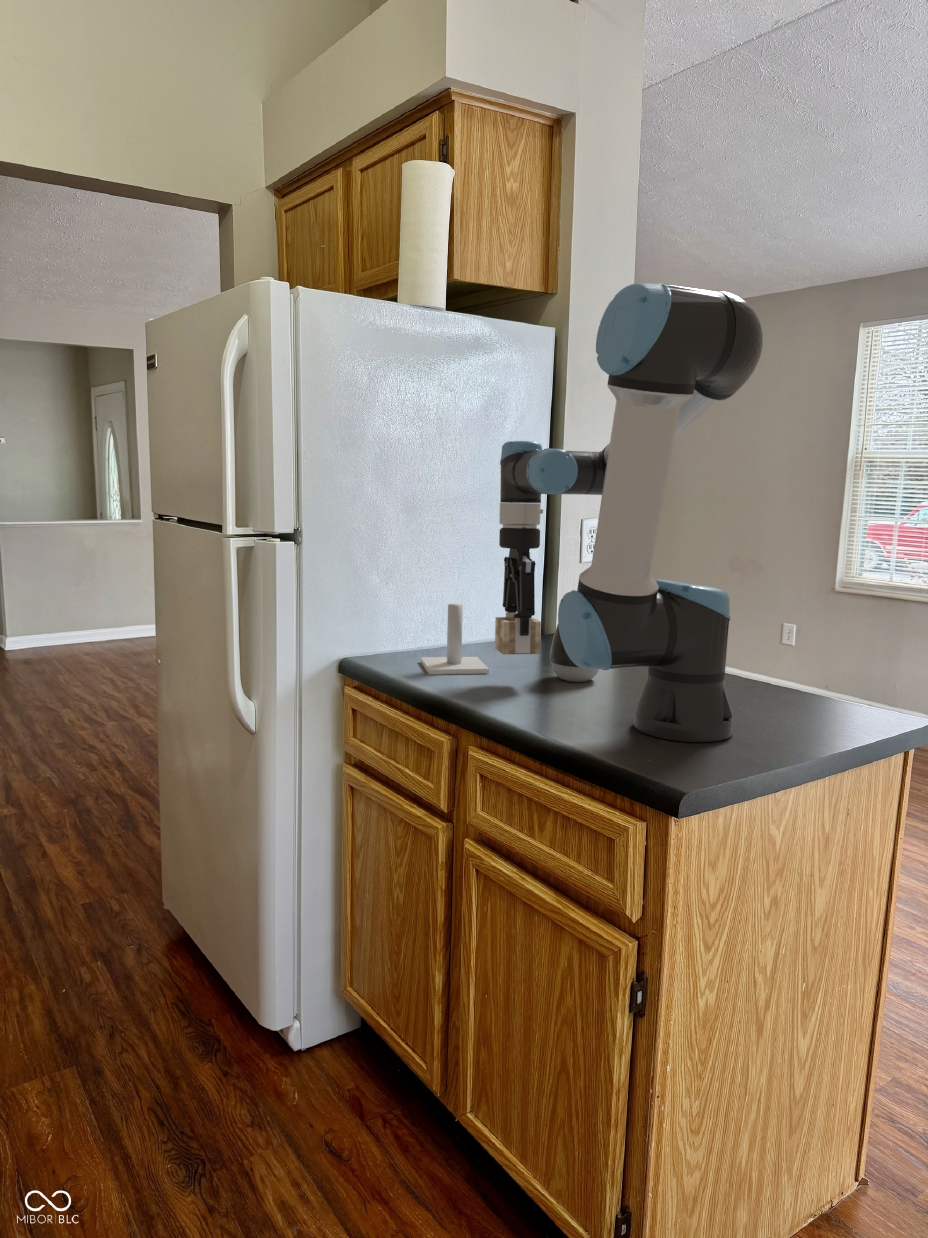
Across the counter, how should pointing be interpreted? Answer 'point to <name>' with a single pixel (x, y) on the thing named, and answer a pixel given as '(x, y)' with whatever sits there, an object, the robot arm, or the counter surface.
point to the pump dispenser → (567, 663)
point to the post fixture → (454, 650)
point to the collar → (507, 635)
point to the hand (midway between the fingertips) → (517, 649)
